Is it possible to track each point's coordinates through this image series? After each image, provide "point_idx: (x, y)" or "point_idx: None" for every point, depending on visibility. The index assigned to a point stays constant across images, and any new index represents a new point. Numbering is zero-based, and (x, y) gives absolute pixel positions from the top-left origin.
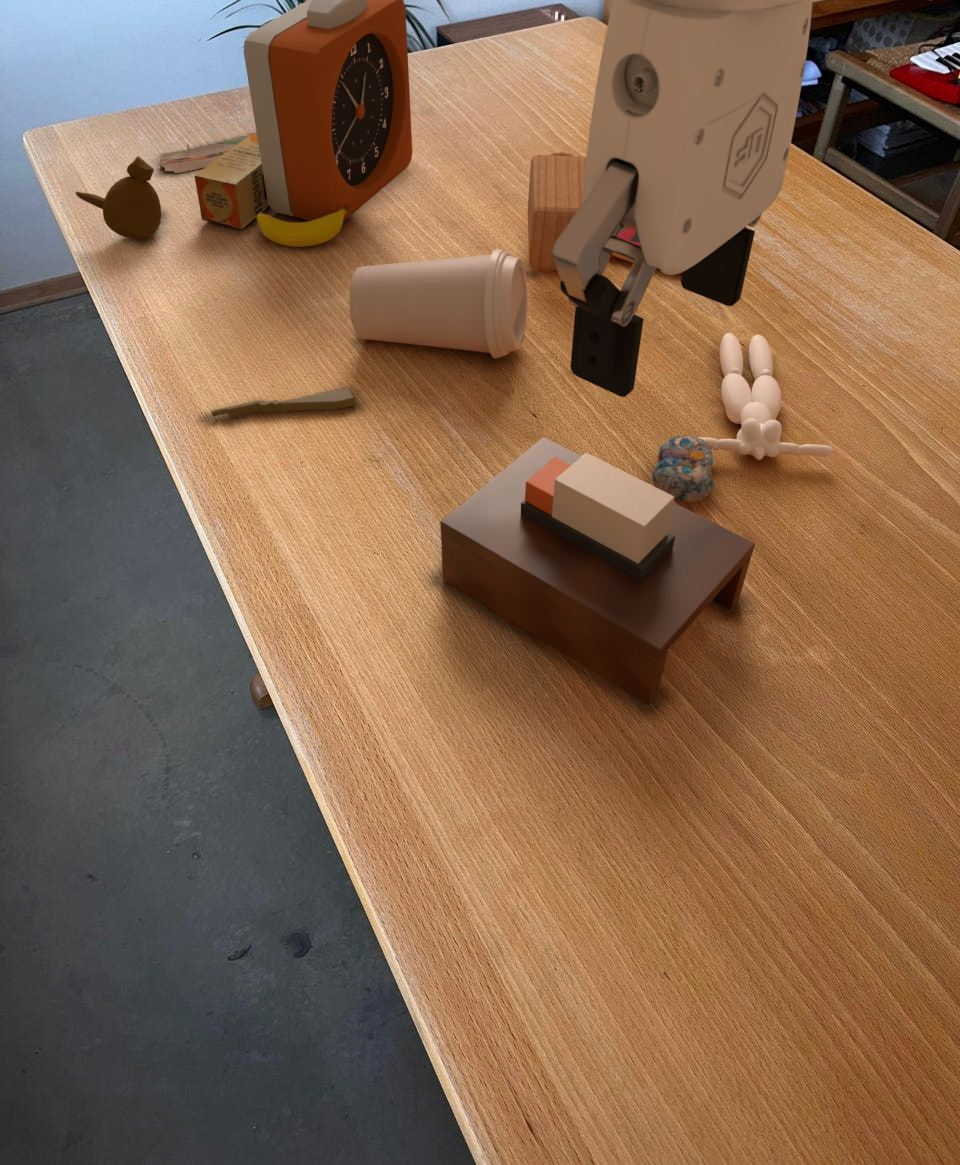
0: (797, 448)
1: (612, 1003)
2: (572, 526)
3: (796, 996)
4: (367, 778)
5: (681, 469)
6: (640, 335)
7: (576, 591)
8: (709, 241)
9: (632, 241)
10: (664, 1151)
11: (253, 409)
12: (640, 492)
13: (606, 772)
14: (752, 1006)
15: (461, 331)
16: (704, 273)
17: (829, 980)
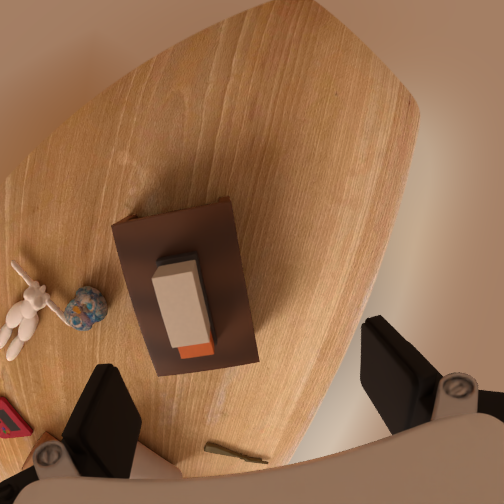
0: (24, 275)
1: (361, 103)
2: (206, 310)
3: (299, 49)
4: (365, 259)
5: (91, 308)
6: (409, 362)
7: (236, 271)
8: (385, 474)
9: (20, 428)
10: (381, 61)
11: (250, 458)
12: (168, 297)
13: (279, 181)
14: (317, 60)
15: (138, 449)
16: (125, 420)
17: (282, 43)
